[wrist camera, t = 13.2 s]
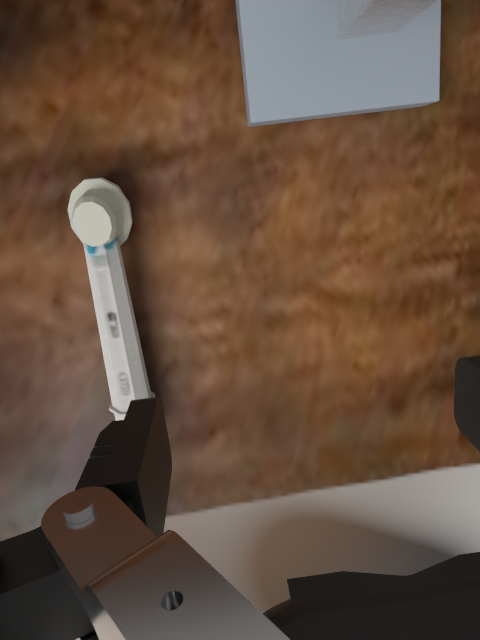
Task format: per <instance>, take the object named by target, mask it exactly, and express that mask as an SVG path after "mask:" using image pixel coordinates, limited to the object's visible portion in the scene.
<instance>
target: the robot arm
mask: <svg viewBox="0 0 480 640" xmlns="http://www.w3.org/2000/svg"><path fill="white" fill-rule="evenodd" d="M454 416H455V420H456V423H457V426H458V428H459V430H460V431H461V433H462V434H463V435H464V436H465V437H466V438H467V439H468V440H469V441H470V442H471V443H472V444H473V445H474V446H475V447H476V448H477V449H478V450H479V451H480V355H479V356H471V357H463V358H460V359H458V361H457V363H456V368H455V396H454ZM171 472H172V459H171V449H170V444H169V438H168V433H167V427H166V422H165V417H164V411H163V406H162V402H161V399H160V397H153V398H145V399H137V400H131V402H130V404H129V407H128V410H127V413H126V415H125V418H124V420H118V421H112V422H111V423H110V424H109V425H108V426H107V427H106V428H105V429H104V430H103V431H101V432H100V434H99V436H98V438H97V441H96V443H95V445H94V448H93V450H92V452H91V454H90V459H88V461H87V464H86V466H85V468H84V470H83V473H82V475H81V477H80V480H79V482H78V484H77V486H76V489H75V491H72V492H70V493H68V494H66V495H64V496H63V497H61V498H60V499H58V500H57V501H55V502H54V503H53V504H52V505H51V506H50V507H49V508H48V509H47V511H46V512H45V514H44V515H43V518H42V521H41V526H40V527H38V528H36V529H34V530H31V531H29V532H26V533H24V534H21V535H18V536H15V537H12V538H10V539H7V540H4V541H1V542H0V640H75V639H76V640H480V552H476V553H470V554H462V555H458V556H456V557H453V558H451V559H448V560H446V561H444V562H441V563H439V564H436V565H434V566H432V567H429V568H427V569H424V570H422V571H420V572H417V573H415V574H412V575H408V576H396V575H384V574H371V573H358V572H346V571H342V572H335V573H328V574H322V575H314V576H307V577H300V578H293V579H287V584H288V594H289V600H287V601H284V602H282V603H280V604H278V605H276V606H274V607H272V608H271V609H269V610H267V611H266V612H265V613H263V614H262V613H261V612H260V611H259V610H258V609H257V608H256V607H255V606H254V605H253V604H252V603H251V602H250V601H249V600H248V599H246V598H245V597H244V596H243V595H242V594H241V593H240V592H239V591H238V590H237V589H236V588H235V587H234V586H233V585H231V584H230V583H229V582H228V581H227V580H226V579H225V578H224V577H223V576H222V575H221V574H220V573H219V572H218V571H216V570H215V569H214V568H213V567H212V566H211V565H210V564H209V563H208V562H207V561H206V560H205V559H204V558H203V557H202V556H201V555H200V554H198V553H197V552H196V551H195V550H194V549H193V548H192V547H191V546H190V545H189V544H188V543H187V542H186V541H185V540H184V539H182V537H180V536H179V535H178V534H177V533H176V532H174V531H172V530H168V531H166V532H165V533H163V532H164V524H165V517H166V509H167V502H168V495H169V487H170V480H171Z"/></svg>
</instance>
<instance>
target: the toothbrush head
mask: <svg viewBox="0 0 480 640" xmlns="http://www.w3.org/2000/svg"><path fill="white" fill-rule="evenodd" d="M119 187H120V186H118V185H116V184H114V183H112V182H111V181H109V180H107V179H104V178H90V179H85V180H83V181H82V182H81V183H80V184H79V185H78V186H77V187H76V188H75V189H74V190H73V191H72V193H71V197H70V201H69V205H68V214H69V218H70V223H71V227H72V229H73V231H74V232H75V233H76V235H77V236H78V237H79V239H80V240H81V241H82V243H83V245H84V250H85V256H86V262H87V267H88V273H89V278H90V284H91V289H92V295H93V301H94V306H95V312H96V317H97V323H98V328H99V334H100V340H101V345H102V351H103V356H104V362H105V367H106V373H107V379H108V384H109V390H110V395H111V403H110V406H109V410H110V411H111V412H113V413H114V415H115V419H116V421H118V420H124V418H125V415H126V413H127V410H128V407H129V404H130V402H131V400H137V399H145V398H153V397H155V393H153V392H151V390H150V386H149V381H148V376H147V372H146V367H145V362H144V358H143V353H142V348H141V344H140V339H139V334H138V330H137V325H136V320H135V316H134V311H133V306H132V302H131V297H130V292H129V287H128V283H127V278H126V273H125V269H124V264H123V259H122V255H121V250H120V246H121V245H122V244H123V243H124V242H125V241H126V240H127V239H128V236H129V232H130V229H131V226H132V222H133V221H132V215H131V209H130V203H129V200H128V199H127V198H126V196H125V195H124V193H123V192H122V191H121V189H120V188H119Z"/></svg>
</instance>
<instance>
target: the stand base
mask: <svg viewBox="0 0 480 640" xmlns="http://www.w3.org/2000/svg"><path fill="white" fill-rule="evenodd" d="M235 2H236V12H237V22H238V32H239V41H240V51H241V61H242V71H243V81H244V91H245V101H246V111H247V121H248V127H252V126H260V125H269V124H277V123H286V122H294V121H303V120H311V119H320V118H328V117H337V116H345V115H354V114H362V113H371V112H379V111H388V110H396V109H404V108H413V107H421V106H426V105H428V104H431V103H434V102H437V101H439V83H440V26H441V0H437V1H436V2H434V3H433V4H432V5H431V6H429V7H428V8H427V9H426V10H424V11H423V12H422V13H420V14H419V15H418V16H417V17H415V18H414V19H413V20H412V21H410V22H409V23H408V24H407V25H405V26H404V27H403V28H402V29H400V30H399V31H398V32H397V33H388V34H379V35H370V36H362V37H353V38H344V39H339V30H338V6H337V0H235Z"/></svg>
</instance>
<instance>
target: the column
mask: <svg viewBox="0 0 480 640" xmlns="http://www.w3.org/2000/svg"><path fill="white" fill-rule="evenodd" d="M436 1H437V0H337V6H338V30H339V39H344V38H353V37H362V36H370V35H379V34H388V33H397V32H398V31H399V30H400V29H402V28H403V27H404V26H405V25H407V24H408V23H409V22H410V21H412V20H413V19H414V18H415V17H417V16H418V15H419V14H420V13H422V12H423V11H424V10H426V9H427V8H428V7H429V6H431V5H432V4H433V3H434V2H436Z"/></svg>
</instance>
